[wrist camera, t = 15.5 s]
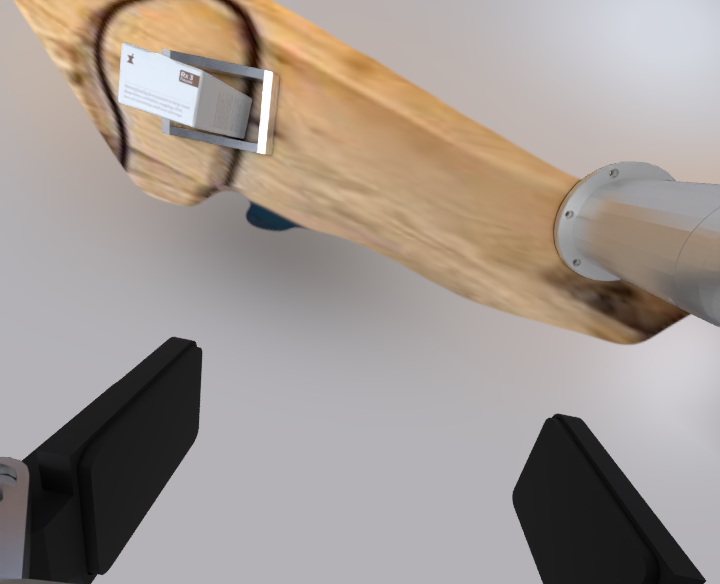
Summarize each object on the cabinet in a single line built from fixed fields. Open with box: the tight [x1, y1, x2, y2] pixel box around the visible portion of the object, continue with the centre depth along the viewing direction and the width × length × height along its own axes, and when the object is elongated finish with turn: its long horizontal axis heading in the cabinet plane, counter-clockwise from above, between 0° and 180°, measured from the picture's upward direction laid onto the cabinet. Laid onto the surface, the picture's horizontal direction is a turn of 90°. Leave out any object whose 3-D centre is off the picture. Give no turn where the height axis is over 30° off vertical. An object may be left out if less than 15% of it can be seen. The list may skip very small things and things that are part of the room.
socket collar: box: [162, 49, 280, 155], centre depth 37 cm, size 11×7×2 cm
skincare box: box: [118, 42, 252, 139], centre depth 32 cm, size 6×4×12 cm
